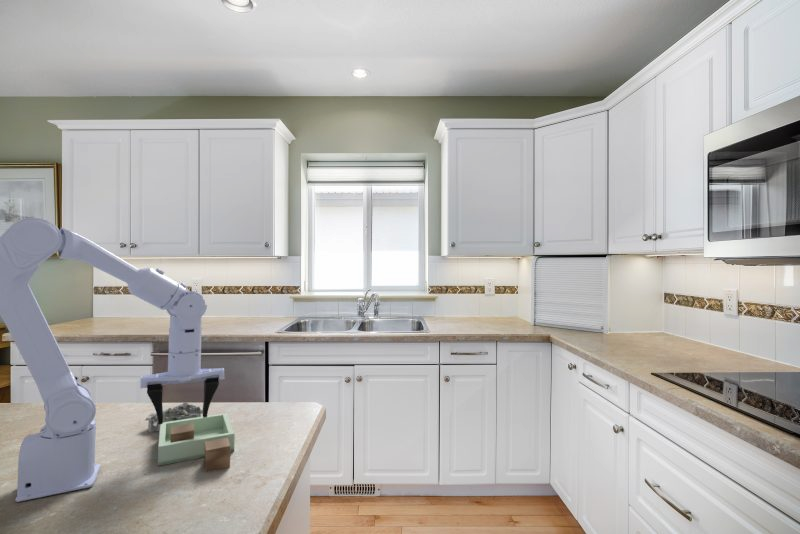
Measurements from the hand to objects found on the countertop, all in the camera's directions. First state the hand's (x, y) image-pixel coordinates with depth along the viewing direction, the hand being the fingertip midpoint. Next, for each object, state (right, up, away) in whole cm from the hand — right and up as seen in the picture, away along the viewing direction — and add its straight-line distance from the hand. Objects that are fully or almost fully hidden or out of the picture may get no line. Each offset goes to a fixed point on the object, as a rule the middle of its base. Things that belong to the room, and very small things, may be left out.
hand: (183, 419), depth 78 cm
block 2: (+9, -7, -5) cm, 12 cm away
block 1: (0, -6, 0) cm, 6 cm away
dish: (+1, -7, +3) cm, 7 cm away
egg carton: (-9, -7, +13) cm, 18 cm away
